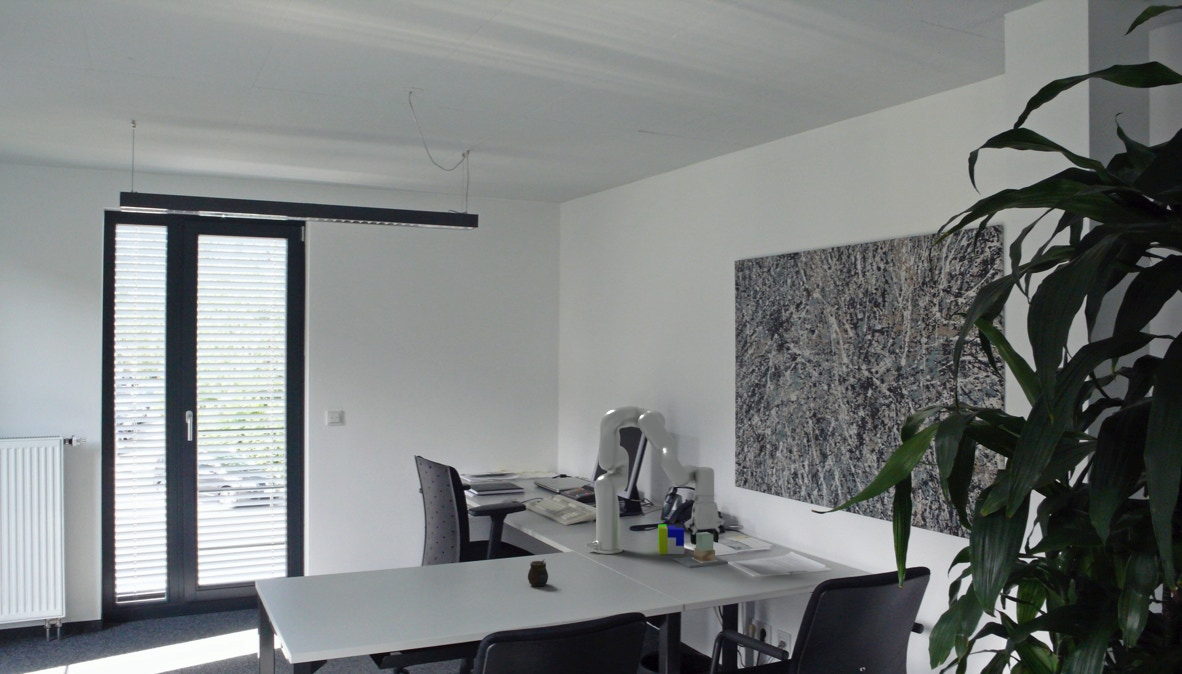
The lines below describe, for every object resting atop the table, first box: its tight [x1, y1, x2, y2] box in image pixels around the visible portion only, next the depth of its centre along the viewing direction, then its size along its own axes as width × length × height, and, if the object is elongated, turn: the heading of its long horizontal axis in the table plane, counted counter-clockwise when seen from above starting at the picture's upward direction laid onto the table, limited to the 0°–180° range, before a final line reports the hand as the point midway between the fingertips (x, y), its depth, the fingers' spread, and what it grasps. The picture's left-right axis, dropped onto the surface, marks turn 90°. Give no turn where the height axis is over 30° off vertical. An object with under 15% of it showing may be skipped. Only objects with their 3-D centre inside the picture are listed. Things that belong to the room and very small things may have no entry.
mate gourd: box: [527, 559, 549, 588], centre depth 308 cm, size 7×8×10 cm
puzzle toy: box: [657, 523, 685, 555], centre depth 360 cm, size 10×10×10 cm
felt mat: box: [674, 555, 729, 569], centre depth 342 cm, size 17×12×1 cm
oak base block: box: [693, 547, 716, 562], centre depth 342 cm, size 6×6×4 cm
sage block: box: [695, 531, 714, 551], centre depth 342 cm, size 5×5×6 cm
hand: (704, 543), depth 342 cm, fingers open, 9 cm apart
